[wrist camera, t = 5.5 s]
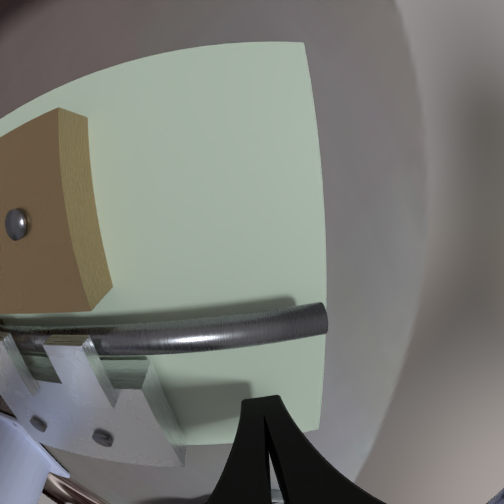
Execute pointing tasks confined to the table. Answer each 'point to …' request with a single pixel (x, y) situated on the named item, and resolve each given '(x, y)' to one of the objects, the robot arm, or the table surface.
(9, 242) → the bronze leaf
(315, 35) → the table surface
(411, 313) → the table surface
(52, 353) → the steel leaf
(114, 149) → the board
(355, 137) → the table surface
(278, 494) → the ceramic mug
